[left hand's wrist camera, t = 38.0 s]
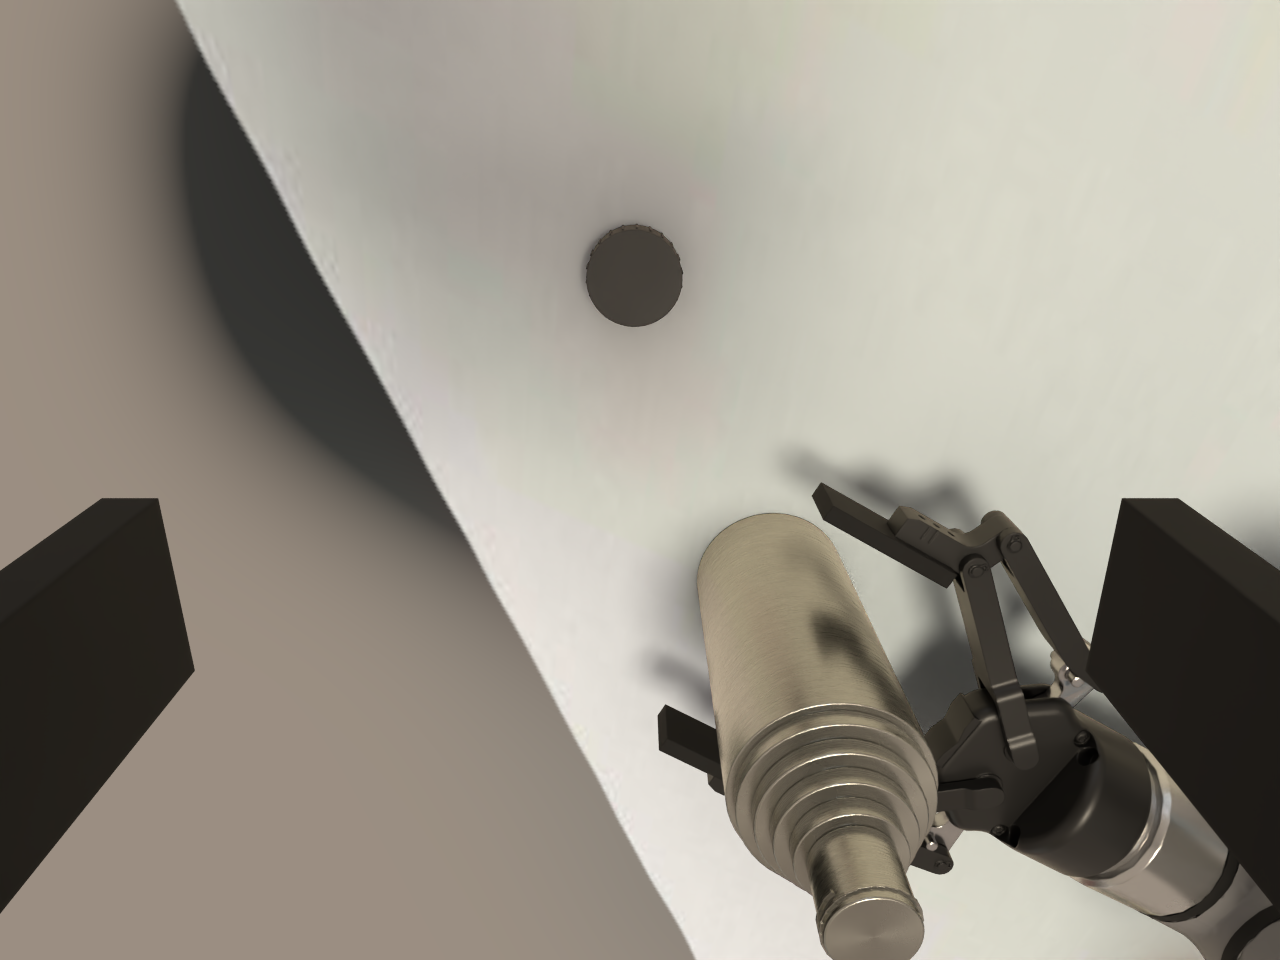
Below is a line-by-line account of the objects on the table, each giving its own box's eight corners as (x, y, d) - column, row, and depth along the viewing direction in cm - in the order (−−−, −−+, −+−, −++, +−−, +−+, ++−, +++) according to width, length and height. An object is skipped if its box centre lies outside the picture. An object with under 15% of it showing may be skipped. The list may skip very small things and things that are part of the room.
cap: (684, 314, 44) (687, 323, 42) (592, 322, 44) (590, 332, 42) (677, 219, 42) (679, 224, 40) (582, 228, 42) (579, 233, 40)
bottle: (666, 575, 49) (691, 931, 27) (779, 484, 47) (901, 788, 25) (760, 667, 51) (851, 1065, 29) (871, 583, 49) (1055, 942, 27)
